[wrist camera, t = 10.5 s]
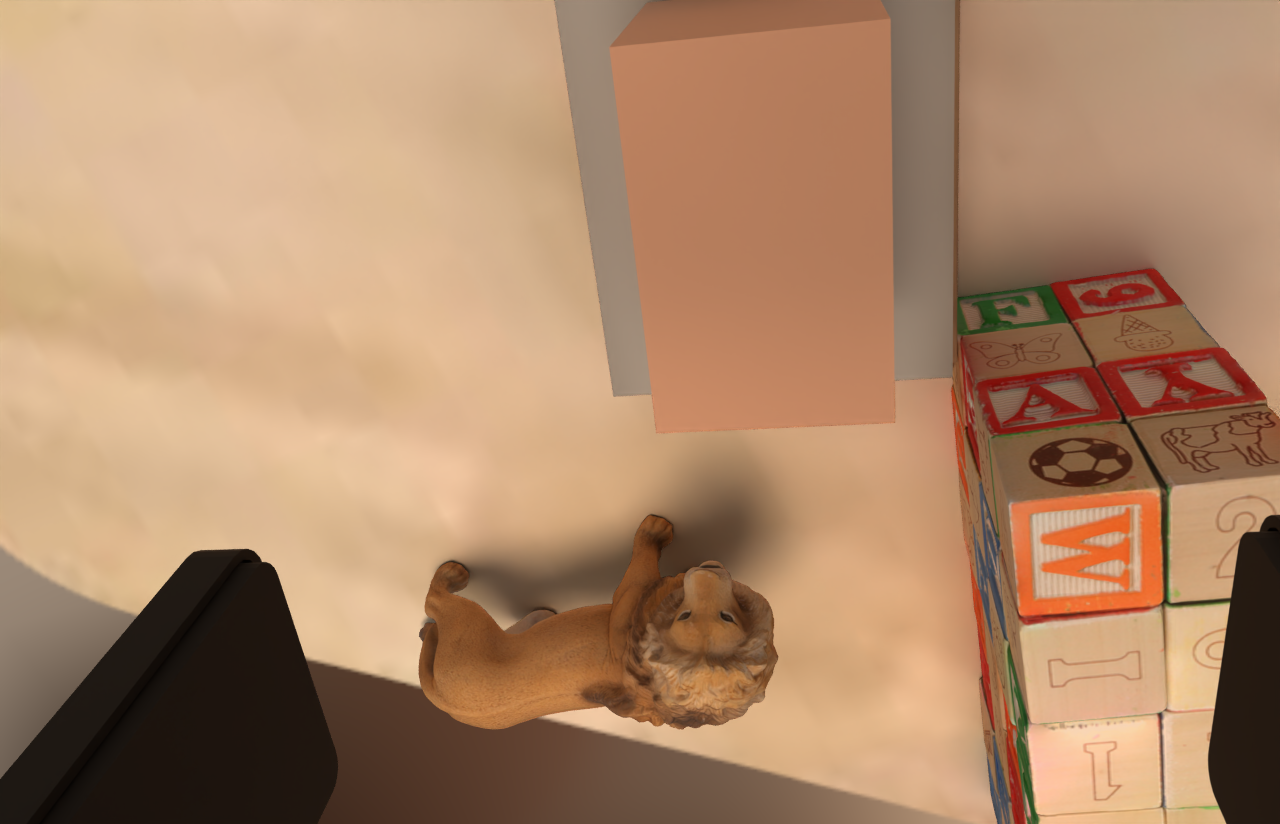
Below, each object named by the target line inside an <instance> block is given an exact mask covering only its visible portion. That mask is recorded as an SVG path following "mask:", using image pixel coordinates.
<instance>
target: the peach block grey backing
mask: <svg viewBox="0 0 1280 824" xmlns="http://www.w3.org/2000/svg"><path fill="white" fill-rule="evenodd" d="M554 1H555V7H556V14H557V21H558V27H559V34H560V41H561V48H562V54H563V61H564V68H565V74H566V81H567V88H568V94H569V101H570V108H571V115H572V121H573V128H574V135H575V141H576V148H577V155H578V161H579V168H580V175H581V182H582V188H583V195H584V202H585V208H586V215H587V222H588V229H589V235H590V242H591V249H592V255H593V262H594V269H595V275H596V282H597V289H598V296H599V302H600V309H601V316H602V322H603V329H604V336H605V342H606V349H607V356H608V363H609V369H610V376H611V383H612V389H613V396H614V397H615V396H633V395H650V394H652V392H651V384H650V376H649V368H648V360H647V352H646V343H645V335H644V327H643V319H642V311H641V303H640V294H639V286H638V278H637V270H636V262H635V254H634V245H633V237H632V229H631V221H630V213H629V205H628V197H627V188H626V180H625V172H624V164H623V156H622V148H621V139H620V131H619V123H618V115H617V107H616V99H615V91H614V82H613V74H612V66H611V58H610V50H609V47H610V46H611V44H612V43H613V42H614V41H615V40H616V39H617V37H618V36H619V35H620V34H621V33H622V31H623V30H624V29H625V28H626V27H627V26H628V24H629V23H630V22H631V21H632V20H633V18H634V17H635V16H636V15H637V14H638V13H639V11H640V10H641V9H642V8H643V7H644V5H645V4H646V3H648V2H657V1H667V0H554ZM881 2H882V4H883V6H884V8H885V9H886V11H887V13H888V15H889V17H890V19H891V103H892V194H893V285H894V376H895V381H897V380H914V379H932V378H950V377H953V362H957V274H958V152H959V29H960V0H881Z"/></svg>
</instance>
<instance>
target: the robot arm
mask: <svg viewBox="0 0 1280 824" xmlns="http://www.w3.org/2000/svg"><path fill="white" fill-rule="evenodd" d="M1208 771H1209V778H1210V783H1211V787H1212V791H1213V794H1214V796H1215V799H1216V801H1217V804H1218V806H1219V808H1220V810H1221V813H1222V815H1223V817H1224V820H1225V822H1226V824H1280V515H1270V516H1268V517H1266V518H1265V519H1264V521H1263V523H1262V525H1261V528H1260V531H1259V532H1246V533H1244V534H1243V535H1242V537H1241V539H1240V542H1239V546H1238V553H1237V559H1236V566H1235V573H1234V580H1233V587H1232V593H1231V600H1230V607H1229V614H1228V621H1227V627H1226V634H1225V641H1224V648H1223V655H1222V662H1221V668H1220V675H1219V682H1218V689H1217V696H1216V702H1215V709H1214V716H1213V723H1212V730H1211V736H1210V743H1209V750H1208ZM337 772H338V761H337V755H336V750H335V747H334V744H333V741H332V738H331V735H330V732H329V729H328V726H327V723H326V720H325V717H324V714H323V711H322V708H321V705H320V702H319V699H318V696H317V693H316V690H315V687H314V684H313V681H312V678H311V674H310V671H309V668H308V665H307V662H306V659H305V656H304V653H303V650H302V647H301V644H300V641H299V638H298V635H297V632H296V629H295V626H294V623H293V620H292V617H291V614H290V611H289V608H288V604H287V601H286V598H285V595H284V592H283V589H282V586H281V583H280V580H279V577H278V574H277V572H276V570H275V568H274V567H273V566H272V565H271V564H270V563H267V562H262V561H261V559H260V557H259V556H258V555H257V554H256V553H255V552H254V551H252V550H249V549H229V550H200V551H196V552H193V553H192V554H191V555H190V556H188V557H187V558H186V559H185V561H184V562H183V563H182V564H181V565H180V567H179V568H178V569H177V570H176V571H175V572H174V574H173V575H172V576H171V577H170V578H169V580H168V581H167V582H166V583H165V584H164V586H163V587H162V588H161V589H160V590H159V591H158V593H157V594H156V595H155V596H154V597H153V599H152V600H151V601H150V602H149V603H148V604H147V606H146V607H145V608H144V609H143V610H142V612H141V613H140V614H139V615H138V616H137V618H136V619H135V620H134V621H133V622H132V623H131V625H130V626H129V627H128V628H127V629H126V631H125V632H124V633H123V634H122V635H121V637H120V638H119V639H118V640H117V641H116V642H115V644H114V645H113V646H112V647H111V648H110V650H109V651H108V652H107V653H106V654H105V656H104V657H103V658H102V659H101V660H100V662H99V663H98V664H97V665H96V666H95V667H94V669H93V670H92V671H91V672H90V673H89V675H88V676H87V677H86V678H85V679H84V681H83V682H82V683H81V684H80V685H79V687H78V688H77V689H76V690H75V691H74V692H73V694H72V695H71V696H70V697H69V698H68V700H67V701H66V702H65V703H64V704H63V705H62V707H61V708H60V709H59V710H58V711H57V712H56V714H55V715H54V716H53V717H52V719H51V720H50V721H49V722H48V723H47V724H46V726H45V727H44V728H43V729H42V730H41V732H40V733H39V734H38V735H37V736H36V737H35V739H34V740H33V741H32V742H31V743H30V745H29V746H28V747H27V748H26V749H25V750H24V752H23V753H22V754H21V755H20V756H19V758H18V759H17V760H16V761H15V762H14V763H13V765H12V766H11V767H10V768H9V769H8V771H7V772H6V773H5V774H4V776H3V777H2V778H1V779H0V824H317V823H318V821H319V819H320V817H321V815H322V813H323V811H324V809H325V807H326V805H327V803H328V801H329V799H330V797H331V794H332V792H333V790H334V787H335V784H336V779H337Z"/></svg>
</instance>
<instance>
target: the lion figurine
mask: <svg viewBox="0 0 1280 824" xmlns="http://www.w3.org/2000/svg"><path fill="white" fill-rule="evenodd" d="M672 539H673V533H672V525H671V524H670V523H668V522H667V521H666V520H664V519H663V518H659V517H656V516H653V515H649V516H648V517H647V518H646V519H645V520H644V521H643V522H642V524H641V526H640V527H639V529H638V531H637V533H636V535H635V538H634V547H633V553H632V554H633V555H632V560H631V562H630V565H629V567H628V569H627V571H626V573H625V575H624V578H623V580H622V581H621V583H620V585H619V587H618V588H617V589H616V591H615V593H614V596H613V604H602V605H595V606H587V607H581V608H577V609H574V610H570V611H566V612H563V613H560V614H557V615H556V614H555V613H554V612H551V611H548V610H537V611H533V612H531V613H529V614H528V615H527V616H525V617H524V618H523V619H522V620H520V621H519V622H517V623H516V624H514V625H513V626H511V627H509V628H508V629H506V630H505V631H503V630H502V629H501V628H500V627H499V626H498V625H497V623H496V622H495V621H494V619H493V618H492V617H491V616H490V615H489V614H488V613H487V612H486V611H485V610H484V609H483V608H482V607H481V606H480V605H478V604H477V603H475V602H473V601H471V600H468V599H466V598H463V597H460V596H458V595H454V594H451V593H454V592H458V591H460V590H462V589H464V588H465V587H466V586H467V583H468V579H469V573H468V572H467V571H466V570H465V569H464V567H463V566H461V565H460V564H457V563H454V562H449V563H446V564H444V565H442V566H441V567H440V568H439V569H438V570H437V571H436V573H435V575H434V577H433V579H432V581H431V584H430V588H429V592H428V594H427V597H426V602H425V612H426V614H427V616H429V617H430V618H432V619H434V620H435V621H436V623H425V626H424V627H423V628H422V629H421V630H420V632H419V637H420V638H421V640H422V641H423V645H422V649H421V653H420V659H419V678H420V683H421V687H422V689H423V691H424V694H425V695H426V696H427V698H428V699H429V700H430V701H431V702H432V703H433V704H434V705H435V706H437V707H438V708H440V709H441V710H443V711H445V712H447V713H449V714H450V715H451V716H452V717H453V718H454V719H456V720H458V721H460V722H463V723H466V724H469V725H473V726H477V727H481V728H486V729H503V728H507V727H510V726H513V725H516V724H519V723H521V722H524V721H528V720H531V719H534V718H537V717H540V716H544V715H549V714H554V713H560V712H565V711H572V710H581V709H590V708H598V707H604V706H606V707H607V708H608V709H609V710H611V711H612V712H613V713H615V714H616V715H618V716H621V717H624V718H627V717H631V718H633V719H635V720H637V721H638V722H645V721H649V722H651V723H652V724H653V725H654V726H661V725H663V724H664V723H666V724H669V725H670V726H671V727H673V728H675V727H676V728H677V729H684V728H685V727H687V726H689V727H692V728H699V727H700V726H702V725H705V724H709V725H715V726H716V725H721V724H724V723H726V722H728V721H729V720H731V719H736V718H738V717H741V716H743V715H744V714H745V713H746V711H747V710H748V707H749V706H751V705H752V704H753V703H759V702H761V701H763V700H764V698H765V689H766V687H767V684H768V682H769V680H770V678H771V676H772V674H773V670H774V666H775V664H776V662H777V660H778V655H777V652H776V650H775V647H774V645H773V637H774V634H773V629H774V618H773V614H772V609H771V607H770V605H769V603H768V601H767V600H766V599H765V598H764V597H763V596H762V595H761V594H759V593H756V592H754V591H753V590H751V589H750V588H749V587H748V586H746V585H743V584H741V583H739V582H736V581H733V580H732V579H731V576H730V574H729V573H728V572H727V571H726V570H725V568H724V566H723V565H722V564H721V563H720V562H718V561H705V562H703V563H702V564H701V565H700V566H699V567H693V568H690V569H689V570H688V571H687V572H686V573H679V574H678V575H677V576H676V577H674V578H673V577H672V576H667V577H663V578H661V577H660V573H659V568H658V560H659V558H660V557H661V551H662V549H663V548H664V547H665V546H667V545H668V544H670V542H671V541H672Z"/></svg>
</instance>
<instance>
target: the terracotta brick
mask: <svg viewBox="0 0 1280 824" xmlns="http://www.w3.org/2000/svg"><path fill="white" fill-rule="evenodd" d="M609 50H610V58H611V66H612V74H613V82H614V91H615V99H616V107H617V115H618V123H619V131H620V139H621V148H622V156H623V164H624V172H625V180H626V188H627V197H628V205H629V213H630V221H631V229H632V237H633V245H634V254H635V262H636V270H637V278H638V286H639V294H640V303H641V311H642V319H643V327H644V335H645V343H646V352H647V360H648V368H649V376H650V384H651V392H652V400H653V409H654V417H655V425H656V433H673V432H696V431H719V430H742V429H765V428H788V427H810V426H833V425H856V424H879V423H895V376H894V285H893V194H892V103H891V19H890V17H889V15H888V13H887V11H886V9H885V8H884V6H883V4H882V2H881V0H667V1H657V2H648V3H646V4H645V5H644V7H643V8H642V9H641V10H640V11H639V13H638V14H637V15H636V16H635V17H634V18H633V20H632V21H631V22H630V23H629V24H628V26H627V27H626V28H625V29H624V30H623V31H622V33H621V34H620V35H619V36H618V37H617V39H616V40H615V41H614V42H613V43H612V44H611V46H610V47H609Z"/></svg>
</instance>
